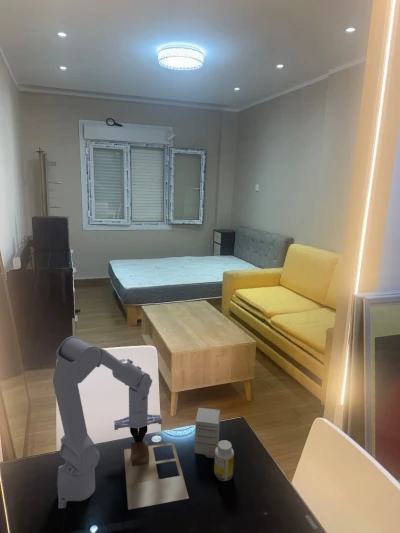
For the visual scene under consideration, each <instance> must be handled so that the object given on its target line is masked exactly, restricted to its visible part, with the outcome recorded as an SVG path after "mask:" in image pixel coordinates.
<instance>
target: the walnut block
mask: <svg viewBox="0 0 400 533" xmlns="http://www.w3.org/2000/svg"><path fill="white" fill-rule="evenodd" d="M148 446H149V443H148V440H142V442H135V441H134V442H130V449H131V461H132V466H137V465H144V464H149V449H148Z"/></svg>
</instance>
